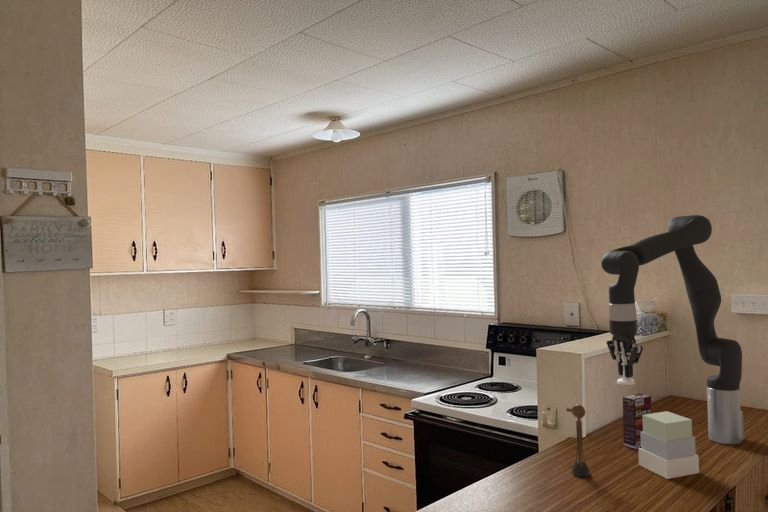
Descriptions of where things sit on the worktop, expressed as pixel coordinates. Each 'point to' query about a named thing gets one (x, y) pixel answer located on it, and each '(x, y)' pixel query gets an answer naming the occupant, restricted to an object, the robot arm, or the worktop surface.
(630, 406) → the supplement box
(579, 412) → the wooden tabletop sculpture
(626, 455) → the worktop surface
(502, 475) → the worktop surface
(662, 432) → the brick tower
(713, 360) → the robot arm
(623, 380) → the chess piece
